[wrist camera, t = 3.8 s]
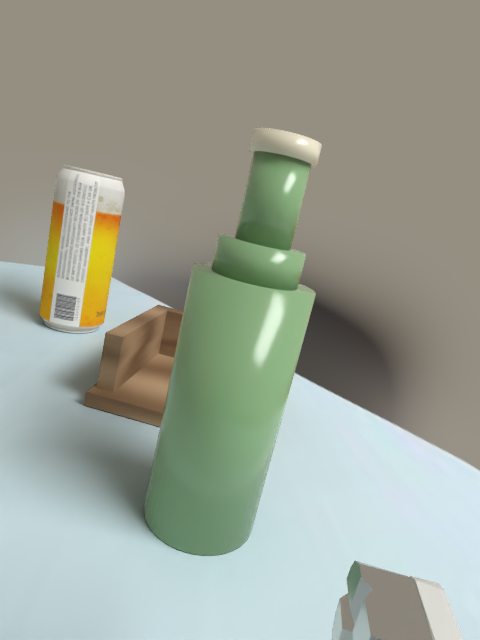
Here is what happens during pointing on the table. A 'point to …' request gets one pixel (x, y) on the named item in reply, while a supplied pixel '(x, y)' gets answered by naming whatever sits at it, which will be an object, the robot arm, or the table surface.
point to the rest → (137, 366)
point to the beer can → (81, 249)
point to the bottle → (235, 361)
